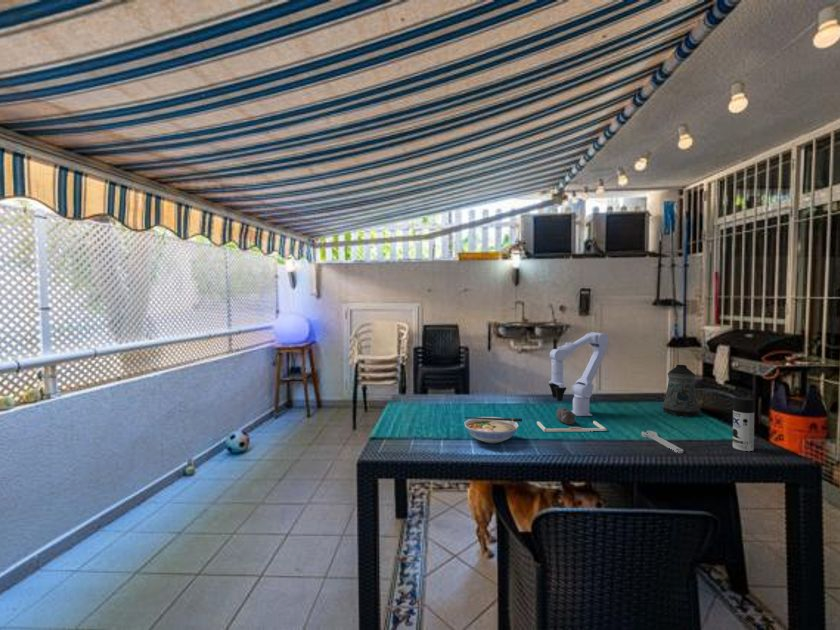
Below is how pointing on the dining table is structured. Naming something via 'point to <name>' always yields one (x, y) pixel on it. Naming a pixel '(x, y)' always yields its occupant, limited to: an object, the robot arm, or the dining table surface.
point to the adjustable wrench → (661, 441)
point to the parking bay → (574, 428)
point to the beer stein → (681, 393)
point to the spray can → (743, 424)
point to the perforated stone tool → (565, 416)
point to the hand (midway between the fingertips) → (557, 399)
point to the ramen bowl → (491, 428)
